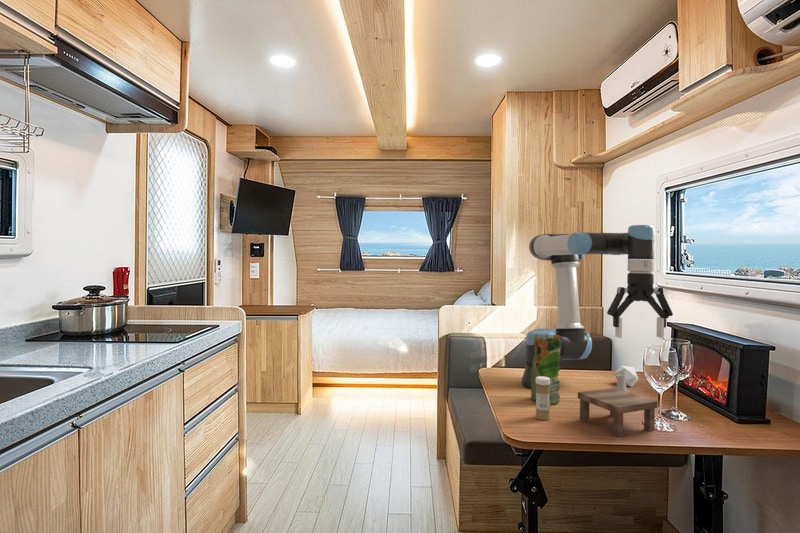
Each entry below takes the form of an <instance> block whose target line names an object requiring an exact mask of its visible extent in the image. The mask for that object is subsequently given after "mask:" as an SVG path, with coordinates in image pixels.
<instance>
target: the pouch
mask: <svg viewBox="0 0 800 533" xmlns="http://www.w3.org/2000/svg"><path fill="white" fill-rule="evenodd" d="M561 337H562V336H559V335H553V336H550V337H549V336H548V335H546V337H544V338H543V337H540V338H539V337H536V336H535V337H534V338H533V339H534V346H535V356H534V359H533V360H532V361H533V363H532V368H531V378H530V380H531V388H530V390H531V391H530V393H531V396H530V397H531V398H530V399H531V401H533V400H534V401H536V377H538V376H544V377H548V378H550V386H549V387H550V406H555V405H557V404H559V403H560V397H561V396H560V393H559V391H560V383H561V382H560V379H559V372H560V370H561V366H560V361H561V360H560V358H561V357H560V348H561V343H562V342H561Z"/></svg>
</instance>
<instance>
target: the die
mask: <svg viewBox="0 0 800 533" xmlns="http://www.w3.org/2000/svg"><path fill="white" fill-rule="evenodd" d="M617 375H624V376H626V379H625V384H626V387H629V388H632V387H634V386H635V385H636V382H638V380H639V377H638V375H637V372H636V369H635V367H634V366H628V365H627V366H626V365H620V366H619V367H618V369H616V371H615V372H614V376H615V378H616V379H617Z"/></svg>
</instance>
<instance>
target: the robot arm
mask: <svg viewBox="0 0 800 533" xmlns="http://www.w3.org/2000/svg"><path fill="white" fill-rule="evenodd" d="M655 239H656V236H655V227H654V226H653V225H650V224H635V225H634V224H632V225H630V226H628V229H627V232H585V231H578V232H572V233H571V234H570V233H542V234H537V235H535V236H534V237H532V238H531V240H530V242H529V244H528V249H529V252H530V254H531V256H533V257H534V258H535V259H537V260H540V261H550V262H551V264H550V265H551V267H553V269H555V271H554V272H555V285H556V300H557V314H558V325H557V326H556V327H555V329H553V328H536V329H531V330H529V331H528V332H527V333H526V338H525V367H524V371H523V373H522V374H523V375H522V377H521V385H522V386H523V387H524V388H529V389H531V380H530V378H531V368H532V363H533V361H532V360H533V359H534V356H535V346H534V339H533V338H534V337H535V336H536V337H539V338H540V337H543V338H544V337H546V335H548V336H549V337H550V336H553V335H559V336H562V337H561V342H562V343H561V348H560V357H561V358H560V361H578V360H584V359H587V358H588V356H589V355H590V354H591V351H592V348H593V340H592V338H591V335H590V333H588V331H586V329H585V326H584V325H582V324H581V312H580V302H579V301H580V299H579V298H580V297H579V286H578V273H577V268H578V267H579V265H580V264H581V262H580V261H581V260H583V258H584V256H585V255H609V256H610V255H612V256H624V255H625V256H626V255H627V272H628V273H627V277H626V279H627V282H626V284H627V287H623V286H618V287H617V289H616V294H615V297H614V299H613V300H612V302H611V303H610V306H609V308H608V309H607V312H606V314H607V315H608V316H611V317H612V327H613V328H614V330H615V331H614V332H615V334H614V335H615V337H616V338H619V339H622V338H623V317H621V316H622V315H623V314H624V313H625V311H626V310H627V309H628V308H629V307H630V305H631V304H633V303H634V302H647V303H648V304H649V305H650V307H651V308H652V309H653V310H654V311H655V312H656V314H657V315H658V316H657V317H656V335H655V336H656V338H659V339H664V337H665V329H666V327H667V319H669V317H672V316H673V315H674V313H673V312H672V309H671V307H670V305H669V303H668V301H667V298H666V296H665V294H664V288H663V287H657V286H656V287H654V283H655V282H654V280H655V278H654V277H655V276H654V275H655V274H654V273H652V272H655V270H654V269H655V268H654V266H655V241H656V240H655ZM626 293H627V296H625V295H626ZM653 294H655V296H656V298H657V301H658V302H659V304H658V302H657V301H656V299H655V298H654V296H653ZM624 296H625V298H624ZM623 298H624V300H623ZM622 300H623V301H622ZM621 302H622V303H621Z"/></svg>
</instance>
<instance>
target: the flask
mask: <svg viewBox="0 0 800 533" xmlns="http://www.w3.org/2000/svg"><path fill="white" fill-rule="evenodd" d="M625 379H626V376H624V375H617V378H616V381H617V382H616V386H615V388H618V389H621V390H624V391H627V392H629V391H628V389H627V386H626V384H625Z"/></svg>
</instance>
